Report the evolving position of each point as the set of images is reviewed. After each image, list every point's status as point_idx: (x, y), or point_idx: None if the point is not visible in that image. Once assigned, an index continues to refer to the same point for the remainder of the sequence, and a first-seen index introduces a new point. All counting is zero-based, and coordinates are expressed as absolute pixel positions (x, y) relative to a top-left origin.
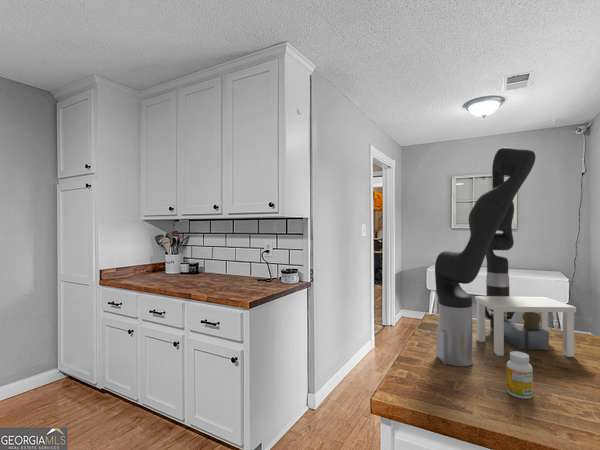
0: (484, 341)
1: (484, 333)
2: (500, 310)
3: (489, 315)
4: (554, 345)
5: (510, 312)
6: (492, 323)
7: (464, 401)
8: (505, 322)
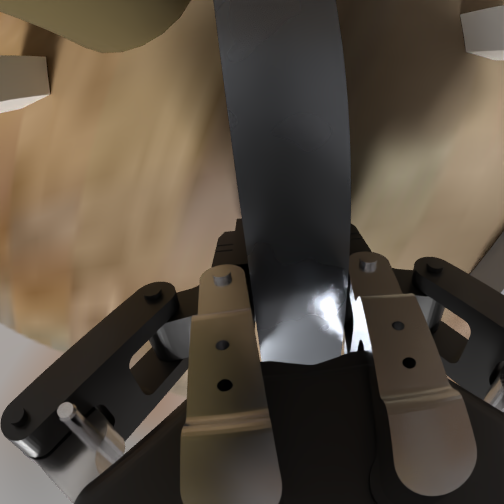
0: (465, 14)
1: (502, 7)
2: None
3: (442, 285)
4: (8, 38)
5: (123, 355)
6: (363, 245)
7: None
8: (329, 11)
